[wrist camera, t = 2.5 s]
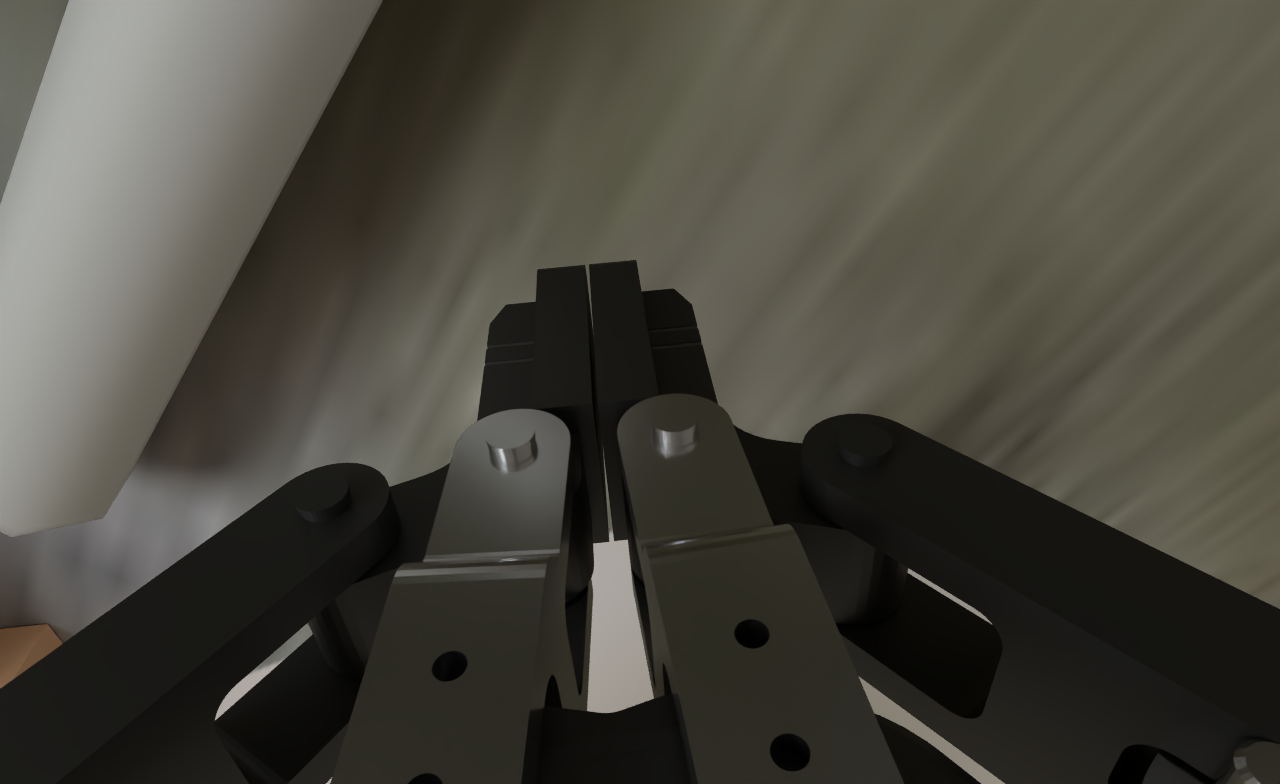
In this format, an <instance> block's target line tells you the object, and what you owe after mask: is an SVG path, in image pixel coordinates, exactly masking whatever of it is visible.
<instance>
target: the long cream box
mask: <svg viewBox="0 0 1280 784" xmlns="http://www.w3.org/2000/svg"><path fill="white" fill-rule="evenodd" d="M62 644H63V643H62V642H61V640H60V639H59V638H58V637H57V635H56V634H55V633H54V632H53V631H52V629H51V628H50V627H49V626H48V624H43V625H33V626H23V627H14V628H4V629H0V688H2V687H3V686H5V685H6V684H7V683H9V682H10V681H12V680H13V679H14V678H16V677H17V676H18V675H20V674H21V673H23V672H24V671H25V670H27V669H28V668H30V667H31V666H32V665H34V664H35V663H37V662H38V661H39V660H41V659H42V658H44V657H45V656H46V655H48V654H49V653H51V652H52V651H53V650H55V649H56V648H58V647H59V646H60V645H62Z"/></svg>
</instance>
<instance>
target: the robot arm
mask: <svg viewBox="0 0 1280 784" xmlns="http://www.w3.org/2000/svg"><path fill="white" fill-rule="evenodd" d="M589 271H590V287H591V302H592V318H593V327H592V318H591V310H590V301H589V292H588V284H587V275H586V268H585V265H579V266H569V267H558V268H547V269H538V270H537V288H536V302H529V303H518V304H508V305H505V307H504V308H503V309H502V310H501V311H500V313H499V314H498V315H497V316H496V317H495V319H494V320H493V321H492V322H491V323H490V327H489V334H488V342H487V347H488V349H487V350H486V358H485V366H484V373H483V381H482V388H481V396H480V404H479V412H478V419H477V422H476V423H474V424H473V425H471V426H470V427H469V428H467V429H466V430H465V431H464V433H463V434H462V435H461V436H460V438H459V439H458V441H457V443H456V445H455V448H454V452H453V455H452V459H451V463H449V464H447V465H446V466H444V467H443V468H440V469H438V470H436V471H434V472H432V473H430V474H427V475H424V476H422V477H419V478H416V479H412V480H409V481H406V482H403V483H400V484H397V485H394V486H391V487H389V485H388V482H387V480H386V479H385V477H384V476H383V475H382V474H381V473H380V472H379V471H378V470H376V469H374V468H372V467H370V466H367V465H363V464H358V463H337V464H331V465H326V466H323V467H319V468H316V469H313V470H310V471H308V472H305V473H303V474H301V475H299V476H297V477H296V478H294V479H292V480H291V481H289V482H288V483H286V484H285V485H283V486H282V487H281V488H279V489H278V490H276V491H275V492H274V493H272V494H271V495H270V496H268V497H267V498H265V499H264V500H263V501H261V502H260V503H258V504H257V505H256V506H254V507H253V508H251V509H250V510H249V511H247V512H246V513H244V514H243V515H242V516H240V517H239V518H237V519H236V520H235V521H233V522H232V523H230V524H229V525H228V526H226V527H225V528H223V529H222V530H221V531H219V532H218V533H217V534H215V535H214V536H212V537H211V538H210V539H208V540H207V541H205V542H204V543H203V544H201V545H200V546H198V547H197V548H196V549H194V550H193V551H191V552H190V553H189V554H187V555H186V556H184V557H183V558H182V559H180V560H179V561H177V562H176V563H175V564H173V565H172V566H170V567H169V568H168V569H166V570H165V571H164V572H162V573H161V574H159V575H158V576H157V577H155V578H154V579H152V580H151V581H150V582H148V583H147V584H145V585H144V586H143V587H141V588H140V589H138V590H137V591H136V592H134V593H133V594H131V595H130V596H129V597H127V598H126V599H124V600H123V601H122V602H120V603H119V604H117V605H116V606H115V607H113V608H112V609H111V610H109V611H108V612H106V613H105V614H104V615H102V616H101V617H99V618H98V619H97V620H95V621H94V622H92V623H91V624H90V625H88V626H87V627H85V628H84V629H83V630H81V631H80V632H78V633H77V634H76V635H74V636H73V637H71V638H70V639H69V640H67V641H66V642H64V643H63V644H62V645H60V646H59V647H58V648H56V649H55V650H53V651H52V652H51V653H49V654H48V655H46V656H45V657H44V658H42V659H41V660H39V661H38V662H37V663H35V664H34V665H32V666H31V667H30V668H28V669H27V670H25V671H24V672H23V673H21V674H20V675H18V676H17V677H16V678H14V679H13V680H12V681H10V682H9V683H7V684H6V685H5V686H3V687H2V688H0V784H326V783H327V782H328V781H329V779H331V777H332V780H331V783H330V784H981V783H980V782H978V781H977V780H976V779H975V778H973V777H972V776H971V775H969V774H968V773H967V772H966V771H964V770H963V769H962V768H961V767H959V766H958V765H957V764H956V763H954V762H953V761H952V760H950V759H949V758H948V757H947V756H945V755H944V754H943V753H942V752H940V751H939V750H938V749H936V748H935V747H934V746H932V745H931V744H929V743H928V742H927V741H925V740H924V739H922V738H920V737H919V736H917V735H915V734H914V733H912V732H911V731H909V730H908V729H906V728H904V727H902V726H900V725H898V724H896V723H894V722H892V721H890V720H888V719H886V718H884V717H882V716H880V715H877V714H874V712H873V710H872V708H871V705H870V703H869V701H868V698H867V696H866V693H865V691H864V689H863V686H862V684H861V682H860V679H859V677H861V678H862V679H863V680H865V681H866V682H867V683H869V684H870V685H872V686H873V687H874V688H876V689H877V690H878V691H880V692H881V693H883V694H884V695H885V696H887V697H888V698H889V699H891V700H892V701H893V702H895V703H896V704H897V705H899V706H900V707H902V708H903V709H904V710H906V711H907V712H909V713H910V714H911V715H913V716H914V717H915V718H917V719H918V720H919V721H921V722H922V723H923V724H925V725H926V726H927V727H929V728H930V729H932V730H933V731H934V732H936V733H937V734H938V735H940V736H941V737H943V738H944V739H945V740H947V741H948V742H950V743H951V744H952V745H954V746H955V747H956V748H958V749H959V750H960V751H962V752H963V753H964V754H966V755H967V756H969V757H970V758H971V759H973V760H974V761H975V762H977V763H978V764H979V765H981V766H982V767H984V768H985V769H986V770H988V771H989V772H990V773H992V774H993V775H994V776H996V777H997V778H998V779H1000V780H1001V781H1003V782H1004V783H1005V784H1280V609H1278V608H1276V607H1274V606H1272V605H1270V604H1268V603H1266V602H1264V601H1262V600H1260V599H1258V598H1256V597H1254V596H1252V595H1250V594H1248V593H1245V592H1243V591H1241V590H1239V589H1237V588H1235V587H1233V586H1231V585H1229V584H1227V583H1225V582H1223V581H1221V580H1219V579H1217V578H1215V577H1213V576H1211V575H1209V574H1207V573H1205V572H1202V571H1200V570H1198V569H1196V568H1194V567H1192V566H1190V565H1188V564H1186V563H1184V562H1182V561H1180V560H1178V559H1176V558H1174V557H1172V556H1170V555H1168V554H1166V553H1164V552H1162V551H1160V550H1157V549H1155V548H1153V547H1151V546H1149V545H1147V544H1145V543H1143V542H1141V541H1139V540H1137V539H1135V538H1133V537H1131V536H1129V535H1127V534H1125V533H1123V532H1121V531H1119V530H1117V529H1115V528H1112V527H1110V526H1108V525H1106V524H1104V523H1102V522H1100V521H1098V520H1096V519H1094V518H1092V517H1090V516H1088V515H1086V514H1084V513H1082V512H1080V511H1078V510H1076V509H1074V508H1072V507H1070V506H1067V505H1065V504H1063V503H1061V502H1059V501H1057V500H1055V499H1053V498H1051V497H1049V496H1047V495H1045V494H1043V493H1041V492H1039V491H1037V490H1035V489H1033V488H1031V487H1029V486H1027V485H1025V484H1022V483H1020V482H1018V481H1016V480H1014V479H1012V478H1010V477H1008V476H1006V475H1004V474H1002V473H1000V472H998V471H996V470H994V469H992V468H990V467H988V466H986V465H984V464H982V463H979V462H977V461H975V460H973V459H971V458H969V457H967V456H965V455H963V454H961V453H959V452H957V451H955V450H953V449H951V448H949V447H947V446H945V445H943V444H941V443H939V442H937V441H934V440H932V439H930V438H928V437H926V436H924V435H922V434H920V433H918V432H916V431H914V430H912V429H910V428H908V427H906V426H904V425H902V424H900V423H897V422H895V421H893V420H890V419H887V418H884V417H880V416H875V415H869V414H845V415H838V416H834V417H830V418H828V419H825V420H823V421H821V422H819V423H818V424H816V425H815V426H813V427H812V428H811V429H810V430H809V431H808V433H807V434H806V435H805V437H804V440H803V443H802V444H801V443H793V442H785V441H777V440H771V439H765V438H761V437H758V436H754V435H752V434H749V433H747V432H745V431H743V430H741V429H739V428H737V427H736V426H735V425H733V423H732V420H731V418H730V416H729V415H728V413H727V412H726V411H725V410H724V409H723V408H722V407H721V406H719V405H718V403H717V399H716V395H715V391H714V388H713V384H712V380H711V376H710V372H709V368H708V365H707V361H706V357H705V353H704V349H703V345H702V344H701V338H700V334H699V330H698V328H697V322H696V319H695V315H694V311H693V307H692V304H691V303H689V302H688V301H687V300H686V299H685V298H684V297H683V296H682V295H680V294H679V293H678V292H677V291H676V290H675V289H664V290H653V291H643V292H641V286H640V280H639V274H638V268H637V262H636V260H631V261H620V262H609V263H599V264H589ZM593 333H594V336H593ZM602 441H603V442H602ZM603 450H604V457H603ZM604 458H605V467H606V475H607V484H608V492H609V501H610V509H611V518H612V526H613V535H614V541H618V540H628V545H629V555H630V562H631V572H632V583H633V591H634V596H635V602H636V607H637V612H638V617H639V623H640V628H641V633H642V638H643V644H644V649H645V654H646V660H647V665H648V670H649V675H650V680H651V686H652V690H653V696H654V699H652V700H649V701H646V702H644V703H641V704H638V705H636V706H632V707H630V708H627V709H624V710H621V711H618V712H613V713H596V712H589V711H587V700H588V681H589V662H590V643H591V642H590V641H591V622H592V604H593V588H592V581H591V577H592V574H593V570H594V553H593V543H602V542H609V531H608V516H607V501H606V486H605V472H604ZM908 568H909V569H911V570H912V571H914V572H916V573H918V574H919V575H921V576H922V577H924V578H926V579H927V580H929V581H931V582H932V583H934V584H936V585H937V586H939V587H941V588H942V589H944V590H945V591H947V592H949V593H950V594H952V595H954V596H955V597H957V598H958V599H960V600H962V601H963V602H965V603H967V604H968V605H970V606H972V607H973V608H975V609H976V610H978V611H979V612H981V613H982V614H983V615H984V616H986V618H987V619H988V620H989V621H990V622H991V623H992V624H993V625H992V624H990V623H988V622H987V621H985V620H984V619H982V618H980V617H979V616H977V615H975V614H974V613H972V612H970V611H969V610H967V609H966V608H964V607H962V606H961V605H959V604H957V603H956V602H954V601H952V600H951V599H949V598H948V597H946V596H944V595H943V594H941V593H939V592H938V591H936V590H935V589H933V588H931V587H930V586H928V585H926V584H925V583H923V582H922V581H920V580H918V579H917V578H915V577H913V576H912V575H910V574H908V573H907V571H908ZM307 623H308V624H309V627H310V629H311V631H312V633H313V635H312V636H311V637H310V638H308V639H307V640H306V641H305V642H304V643H303V644H302V645H300V646H299V647H298V648H297V649H296V650H295V651H294V652H293V653H291V654H290V655H289V656H288V657H287V658H286V659H285V660H283V661H282V662H281V663H280V664H279V665H278V666H277V667H276V668H274V670H272V671H271V672H270V673H269V674H268V675H266V676H265V677H264V678H263V679H262V680H261V681H260V682H259V683H258V684H256V685H255V686H254V687H253V688H252V689H251V690H250V691H248V692H247V693H246V694H245V695H244V696H243V697H242V698H241V699H239V700H238V701H237V702H236V703H235V704H234V705H233V706H231V707H230V708H229V709H228V710H227V711H226V712H225V713H224V714H222V715H221V716H220V717H219V718H218V719H217V720H215V717H216V713H217V710H218V708H219V706H220V704H221V702H222V701H223V699H224V698H225V696H226V695H227V694H228V692H230V690H231V689H232V688H233V687H234V686H235V685H236V684H237V683H239V682H240V681H241V680H242V679H243V678H245V677H246V676H247V675H248V674H249V673H250V672H251V671H253V670H254V669H255V668H256V667H257V666H258V665H260V664H261V663H262V662H263V661H264V660H265V659H266V658H268V657H269V656H270V655H271V654H272V653H273V652H274V651H276V650H277V649H278V648H279V647H280V646H281V645H283V644H284V643H285V642H286V641H287V640H288V639H289V638H291V637H292V636H293V635H294V634H295V633H296V632H298V631H299V630H300V629H301V628H302V627H303V626H304V625H306V624H307ZM858 676H859V677H858Z"/></svg>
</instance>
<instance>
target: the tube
mask: <svg viewBox="0 0 1280 784" xmlns="http://www.w3.org/2000/svg"><path fill="white" fill-rule="evenodd" d="M382 2H383V0H69V2H68V5H67V8H66V11H65V14H64V17H63V20H62V23H61V26H60V29H59V32H58V35H57V38H56V41H55V44H54V47H53V50H52V53H51V56H50V59H49V62H48V65H47V68H46V71H45V74H44V77H43V80H42V83H41V86H40V89H39V91H38V94H37V97H36V100H35V103H34V106H33V109H32V112H31V115H30V118H29V121H28V124H27V127H26V130H25V133H24V136H23V139H22V142H21V145H20V148H19V151H18V154H17V157H16V160H15V163H14V166H13V169H12V172H11V175H10V178H9V181H8V184H7V187H6V190H5V193H4V196H3V199H2V202H1V205H0V532H1V533H3V534H5V535H7V536H9V537H16V536H21V535H25V534H30V533H35V532H40V531H44V530H49V529H54V528H59V527H64V526H68V525H73V524H78V523H83V522H87V521H92V520H97V519H102V518H103V517H104V516H105V514H106V513H107V511H108V509H109V508H110V506H111V504H112V503H113V501H114V500H115V498H116V496H117V495H118V493H119V491H120V490H121V488H122V487H123V485H124V483H125V482H126V480H127V479H128V477H129V475H130V474H131V472H132V470H133V468H134V466H135V465H136V463H137V461H138V459H139V457H140V455H141V453H142V451H143V450H144V448H145V446H146V444H147V442H148V440H149V438H150V436H151V435H152V433H153V431H154V429H155V427H156V425H157V423H158V421H159V420H160V418H161V416H162V414H163V412H164V410H165V408H166V406H167V405H168V403H169V401H170V399H171V397H172V395H173V393H174V391H175V390H176V388H177V386H178V384H179V382H180V380H181V378H182V376H183V375H184V373H185V371H186V369H187V367H188V365H189V363H190V361H191V360H192V358H193V356H194V354H195V352H196V350H197V348H198V346H199V345H200V343H201V341H202V339H203V337H204V335H205V333H206V331H207V330H208V328H209V326H210V324H211V322H212V320H213V318H214V316H215V315H216V313H217V311H218V309H219V307H220V305H221V303H222V301H223V300H224V298H225V296H226V294H227V292H228V290H229V288H230V286H231V285H232V283H233V281H234V279H235V277H236V275H237V273H238V271H239V270H240V268H241V266H242V264H243V262H244V260H245V258H246V256H247V255H248V253H249V251H250V249H251V247H252V245H253V243H254V241H255V240H256V238H257V236H258V234H259V232H260V230H261V228H262V226H263V225H264V223H265V221H266V219H267V217H268V215H269V213H270V211H271V210H272V208H273V206H274V204H275V202H276V200H277V198H278V196H279V195H280V193H281V191H282V189H283V187H284V185H285V183H286V181H287V180H288V178H289V176H290V174H291V172H292V170H293V168H294V166H295V165H296V163H297V161H298V159H299V157H300V155H301V153H302V151H303V150H304V148H305V146H306V144H307V142H308V140H309V138H310V136H311V135H312V133H313V131H314V129H315V127H316V125H317V123H318V121H319V120H320V118H321V116H322V114H323V112H324V110H325V108H326V106H327V105H328V103H329V101H330V99H331V97H332V95H333V93H334V91H335V90H336V88H337V86H338V84H339V82H340V80H341V78H342V76H343V75H344V73H345V71H346V69H347V67H348V65H349V63H350V61H351V60H352V58H353V56H354V54H355V52H356V50H357V48H358V46H359V45H360V43H361V41H362V39H363V37H364V35H365V33H366V31H367V30H368V28H369V26H370V24H371V22H372V20H373V18H374V17H375V15H376V13H377V11H378V9H379V7H380V5H381V3H382Z"/></svg>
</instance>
